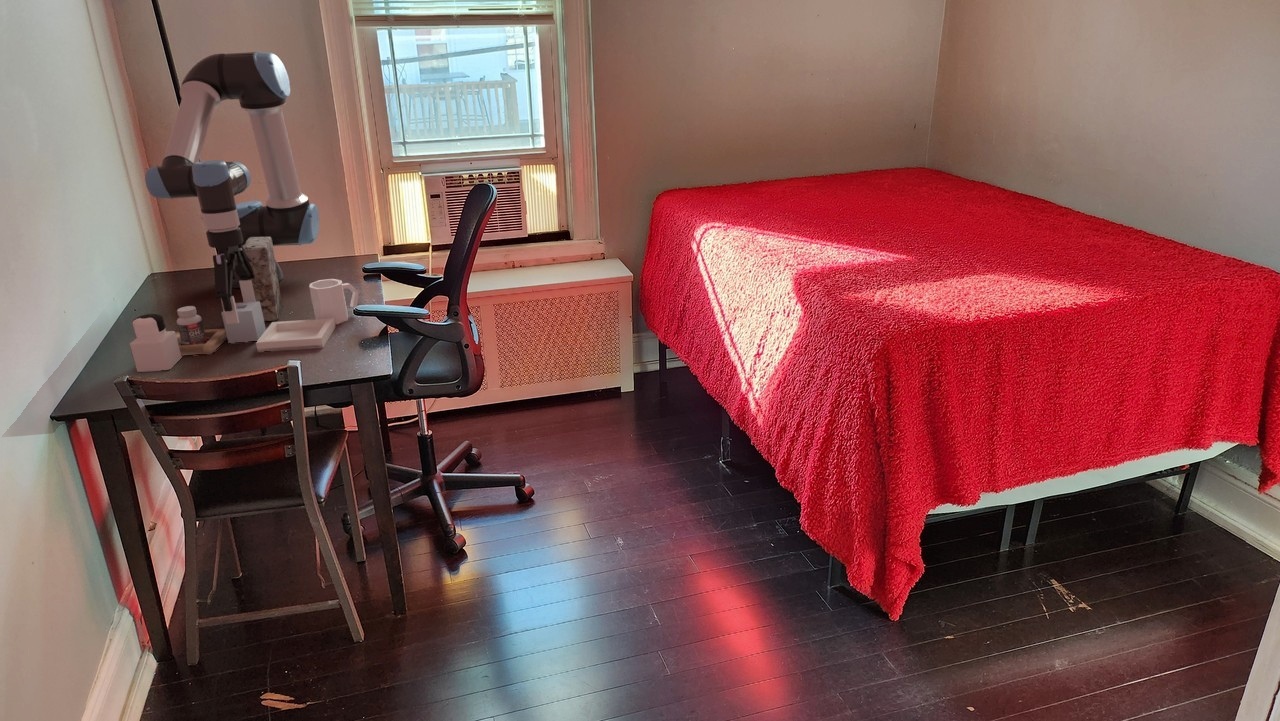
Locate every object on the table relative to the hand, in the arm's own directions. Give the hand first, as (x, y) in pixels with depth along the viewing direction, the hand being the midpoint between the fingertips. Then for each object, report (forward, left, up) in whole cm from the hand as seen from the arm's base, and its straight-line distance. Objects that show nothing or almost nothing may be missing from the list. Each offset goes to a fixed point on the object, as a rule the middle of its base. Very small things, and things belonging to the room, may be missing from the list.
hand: (242, 314), depth 205 cm
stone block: (-17, +1, -7) cm, 19 cm away
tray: (+4, +13, -6) cm, 15 cm away
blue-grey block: (0, 0, -6) cm, 6 cm away
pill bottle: (+4, -11, -7) cm, 13 cm away
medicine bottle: (+15, -15, -7) cm, 22 cm away
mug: (-10, +20, -7) cm, 23 cm away
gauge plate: (+4, -11, -6) cm, 13 cm away
